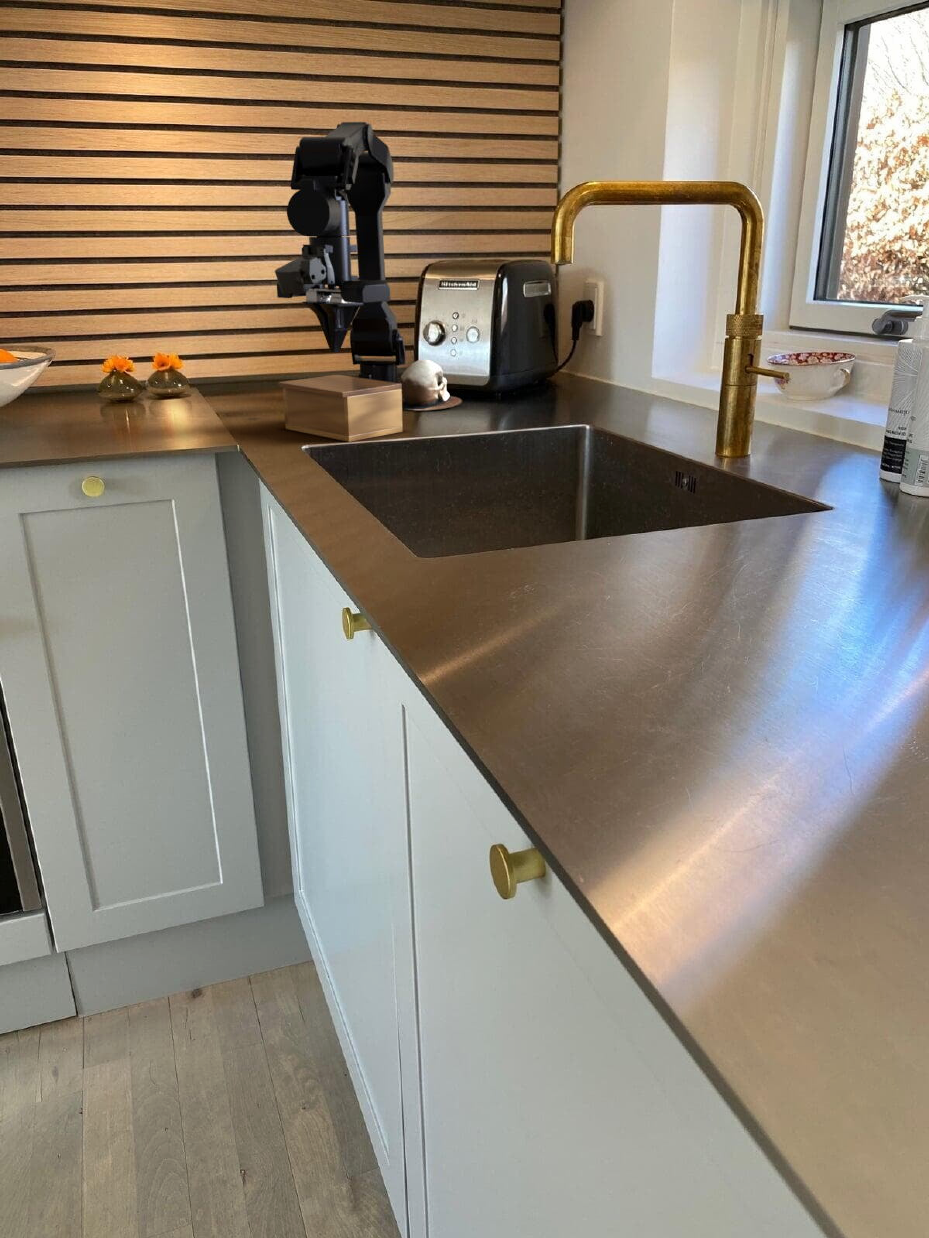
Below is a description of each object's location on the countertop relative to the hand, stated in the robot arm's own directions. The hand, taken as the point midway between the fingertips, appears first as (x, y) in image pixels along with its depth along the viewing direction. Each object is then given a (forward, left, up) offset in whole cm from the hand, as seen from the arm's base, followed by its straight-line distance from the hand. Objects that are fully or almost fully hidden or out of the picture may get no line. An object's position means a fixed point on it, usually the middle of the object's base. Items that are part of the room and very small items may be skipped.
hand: (335, 352), depth 137 cm
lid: (0, 0, -5) cm, 5 cm away
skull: (-26, -6, -12) cm, 29 cm away
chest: (0, +1, -11) cm, 11 cm away
